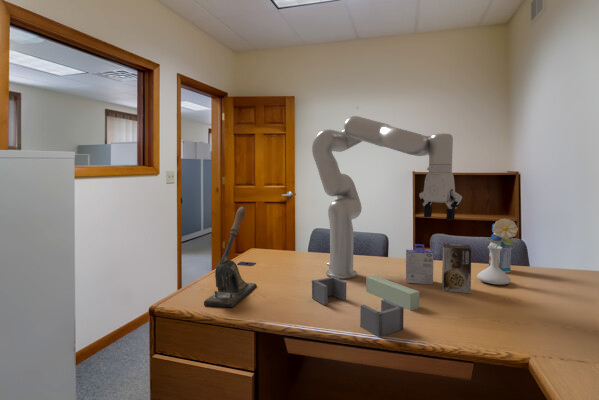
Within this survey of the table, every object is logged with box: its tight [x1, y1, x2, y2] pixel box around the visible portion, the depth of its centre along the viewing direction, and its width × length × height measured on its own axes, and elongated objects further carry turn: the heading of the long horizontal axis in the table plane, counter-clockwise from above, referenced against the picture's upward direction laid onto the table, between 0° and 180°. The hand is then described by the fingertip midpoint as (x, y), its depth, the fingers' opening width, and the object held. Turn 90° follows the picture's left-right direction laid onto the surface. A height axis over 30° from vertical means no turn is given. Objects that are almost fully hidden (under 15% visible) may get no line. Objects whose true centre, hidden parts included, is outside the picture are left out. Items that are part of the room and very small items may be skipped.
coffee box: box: [441, 243, 472, 294], centre depth 124 cm, size 9×6×16 cm
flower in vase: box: [476, 218, 519, 286], centre depth 132 cm, size 13×11×25 cm
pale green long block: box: [365, 274, 420, 311], centre depth 116 cm, size 20×4×6 cm, turn 30°
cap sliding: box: [311, 276, 347, 306], centre depth 115 cm, size 7×9×6 cm
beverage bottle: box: [488, 223, 513, 274], centre depth 149 cm, size 8×8×20 cm
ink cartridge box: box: [405, 243, 435, 285], centre depth 134 cm, size 10×6×14 cm, turn 78°
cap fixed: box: [359, 299, 405, 338], centre depth 94 cm, size 7×9×6 cm
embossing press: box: [203, 205, 257, 308], centre depth 119 cm, size 11×24×30 cm, turn 165°
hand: (438, 218), depth 122 cm, fingers open, 9 cm apart
